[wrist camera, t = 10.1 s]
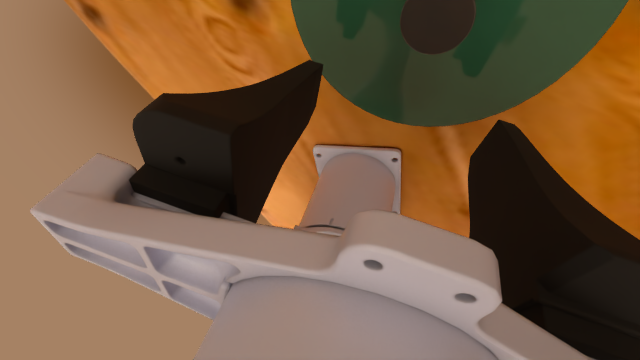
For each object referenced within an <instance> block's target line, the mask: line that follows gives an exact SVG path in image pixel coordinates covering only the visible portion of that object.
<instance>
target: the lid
mask: <svg viewBox="0 0 640 360" xmlns="http://www.w3.org/2000/svg"><path fill="white" fill-rule="evenodd" d="M627 2H628V0H291V5H292V10H293V14H294V17H295V21H296V25H297V28H298V31H299V33H300V36H301V39H302V41H303V44H304V46H305V48H306V50H307V51H308V53H309V55H310V57H311V59H312V61H314V62H317V63H321V64H324V65H323V71H322V75H323V76H324V77H325V79H326V80H327V81H328V82H329V83H330V84H331V85H332V86H333V87H334V88H335V89H336V90H337V91H338V92H339V93H340V94H341V95H342V96H344V97H345V98H346V99H348V100H349V101H350V102H352V103H353V104H354V105H356V106H358V107H360V108H361V109H363V110H365V111H367V112H369V113H371V114H373V115H376V116H378V117H380V118H383V119H386V120H389V121H393V122H396V123H401V124H407V125H413V126H426V127H433V126H450V125H458V124H464V123H468V122H473V121H477V120H481V119H484V118H487V117H490V116H493V115H496V114H499V113H501V112H503V111H505V110H508V109H510V108H512V107H514V106H517V105H519V104H520V103H522V102H524V101H526V100H528V99H529V98H531V97H533V96H535V95H537V94H538V93H540V92H541V91H542V90H544V89H545V88H547V87H548V86H550V85H551V84H553V83H554V82H556V81H557V80H558V79H559V78H561V77H562V76H563V75H564V74H565V73H567V72H568V71H569V70H570V69H571V68H573V67H574V66H575V65H576V64H577V63H578V62H579V61H580V60H581V59H582V58H583V57H584V56H585V55H586V54H587V53H588V52H589V51H590V50H591V49H592V48H593V47H594V46H595V45H596V44H597V42H598V41H599V40H600V39H601V38H602V36H603V35H604V34H605V33H606V31H607V30H608V29H609V28H610V27H611V25H612V24H613V23H614V21H615V20H616V18H617V17H618V15H619V14H620V12H621V11H622V9H623V8H624V6H625V5H626V3H627Z"/></svg>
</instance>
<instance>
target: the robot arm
mask: <svg viewBox="0 0 640 360" xmlns="http://www.w3.org/2000/svg"><path fill="white" fill-rule="evenodd" d="M323 65H324V64H321V63H317V62H314V61H311V60H308V61H306V62H304V63H302V64H300V65H298V66H296V67H294V68H292V69H290V70H288V71H286V72H284V73H282V74H279V75H277V76H274V77H272V78H270V79H267V80H265V81H262V82H259V83H256V84H253V85H249V86H245V87H241V88H236V89H230V90H225V91H219V92H209V93H194V94H169V93H163V94H162V95H160V96H159V97H158V98H157V99H155V100H154V101H153V102H152V103H151V104H149V105H148V106H147V107H146V108H144V109H143V110H142V111H141V112H140V113H138V114H137V115H136V117H135V118H134V120H133V131H134V135H135V138H136V141H137V143H138V146H139V149H140V152H141V154H142V157H143V159H144V162H145V164H144V165H143V166H142V167H141V168H140V169H139V170H138V171H137V170H136V168H134V167H133V166H132V165H130V164H128V163H126V162H123V161H120V160H118V159H115V158H112V157H109V156H106V155H103V154H99V153H97V154H96V155H95V156H94V157H92V158H91V159H90V160H89V161H88V162H87V163H85V164H84V165H83V166H82V167H80V168H79V169H78V170H77V171H76V172H74V173H73V174H72V175H71V176H70V177H69V178H67V179H66V180H65V181H64V182H62V183H61V184H60V185H59V186H58V187H57V188H55V189H54V190H53V191H52V192H50V193H49V194H48V195H47V196H46V197H44V198H43V199H42V200H41V201H40V202H38V203H37V204H36V205H35V206H34V207H32V208H31V209H30V212H31V214H32V215H33V216H34V217H35V218H36V219H37V220H38V221H39V222H40V223H41V224H42V225H43V226H44V227H45V228H46V229H47V230H48V231H49V232H50V233H51V235H52V236H53V237H54V238H55V239H56V240H57V241H58V242H59V243H60V244H61V245H62V246H63V247H64V248H65V249H66V250H67V251H68V252H69V253H70V254H71V255H73V256H76V257H79V258H81V259H83V260H86V261H88V262H91V263H93V264H96V265H98V266H100V267H103V268H105V269H107V270H110V271H112V272H114V273H116V274H119V275H121V276H123V277H125V278H127V279H129V280H131V281H134V282H136V283H138V284H140V285H142V286H144V287H146V288H148V289H150V290H152V291H155V292H156V293H158V294H160V295H162V296H164V297H166V298H169V299H171V300H173V301H175V302H177V303H179V304H181V305H183V306H185V307H187V308H189V309H191V310H193V311H195V312H197V313H199V314H201V315H203V316H205V317H208V318H210V319H211V320H213V323H212V325H211V327H210V328H209V330H208V332H207V334H206V336H205V338H204V340H203V342H202V344H201V346H200V348H199V350H198V352H197V354H196V355H195V357H194V359H193V360H640V240H639V239H637V238H636V237H634V236H633V235H631V234H630V233H628V232H627V231H625V230H624V229H622V228H621V227H620V226H618V225H617V224H615V223H614V222H613V221H611V220H610V219H609V218H607V217H606V216H605V215H603V214H602V213H601V212H599V211H598V210H597V209H596V208H594V207H593V206H592V205H591V204H589V203H588V202H587V201H586V200H585V199H584V198H583V197H581V196H580V195H579V194H578V193H577V192H576V191H575V190H574V189H573V188H571V187H570V186H569V185H568V184H567V183H566V182H565V181H564V180H563V179H562V177H561V176H560V175H559V174H558V173H557V172H556V171H555V170H554V169H553V168H552V167H551V166H550V165H549V163H548V162H547V161H546V160H545V159H544V158H543V156H542V155H541V154H540V153H539V152H538V150H537V149H536V148H535V147H534V146H533V144H532V143H531V142H530V141H529V140H528V138H527V137H526V136H525V135H524V134H523V133H522V132H521V130H520V129H519V128H518V127H517V126H515V125H514V124H511V123H508V122H505V121H502V120H498V121H497V123H496V124H495V125H494V126H493V128H492V129H491V130H490V132H489V133H488V134H487V136H486V137H485V138H484V140H483V141H482V142H481V144H480V145H479V146H478V148H477V149H476V150H475V152H474V153H473V154H472V156H471V158H470V164H469V172H468V192H469V211H470V236H469V238H467V237H464V236H461V235H458V234H456V233H453V232H450V231H447V230H444V229H441V228H438V227H435V226H432V225H429V224H427V223H424V222H421V221H418V220H415V219H412V218H409V217H406V216H403V215H400V199H401V151H400V150H398V149H393V148H372V147H351V146H330V145H315V146H314V148H313V154H314V158H315V162H316V167H317V171H318V175H319V180H318V182H317V184H316V187H315V189H314V192H313V194H312V196H311V199H310V201H309V203H308V206H307V208H306V211H305V213H304V215H303V218H302V220H301V222H300V225H299V226H297V225H296V226H295V227H294V229H289V228H282V227H275V226H269V225H261V224H256V222H257V220H258V217H259V215H260V213H261V211H262V208H263V206H264V204H265V201H266V199H267V197H268V195H269V193H270V190H271V188H272V186H273V184H274V182H275V180H276V177H277V175H278V173H279V171H280V169H281V167H282V165H283V163H284V162H285V160H286V158H287V156H288V155H289V153H290V152H291V150H292V149H293V147H294V145H295V144H296V142H297V141H298V139H299V138H300V136H301V134H302V133H303V131H304V130H305V128H306V126H307V125H308V123H309V120H310V118H311V116H312V114H313V111H314V109H315V107H316V102H317V97H318V92H319V86H320V81H321V76H322V71H323ZM318 154H320V155H318ZM393 158H397V159H396V160H395V159H393ZM395 211H396V212H395Z"/></svg>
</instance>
